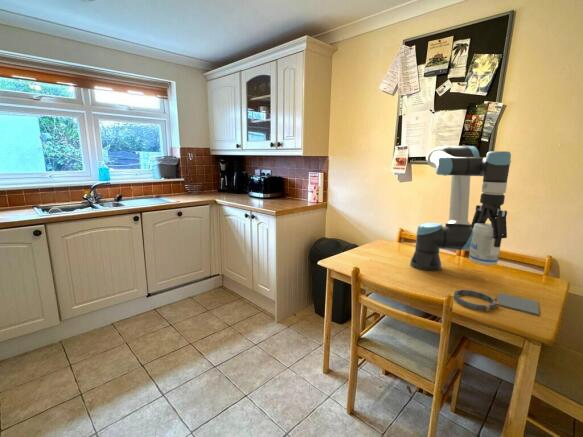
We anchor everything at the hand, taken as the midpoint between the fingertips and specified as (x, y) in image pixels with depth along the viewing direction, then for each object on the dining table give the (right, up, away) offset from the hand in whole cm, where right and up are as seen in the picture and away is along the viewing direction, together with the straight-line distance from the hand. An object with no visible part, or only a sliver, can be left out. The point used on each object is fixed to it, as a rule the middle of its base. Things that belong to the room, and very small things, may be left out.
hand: (484, 250), depth 115 cm
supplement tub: (0, -5, +1) cm, 5 cm away
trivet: (+15, -22, +3) cm, 26 cm away
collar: (-2, -21, +4) cm, 22 cm away
